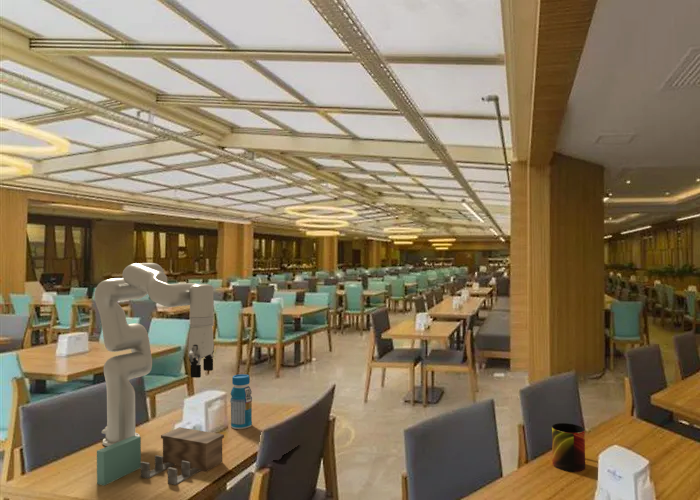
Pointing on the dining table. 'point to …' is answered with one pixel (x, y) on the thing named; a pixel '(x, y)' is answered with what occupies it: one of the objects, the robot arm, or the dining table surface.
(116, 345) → the robot arm
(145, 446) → the dining table surface
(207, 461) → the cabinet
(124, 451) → the green rectangular block
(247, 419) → the beverage bottle
